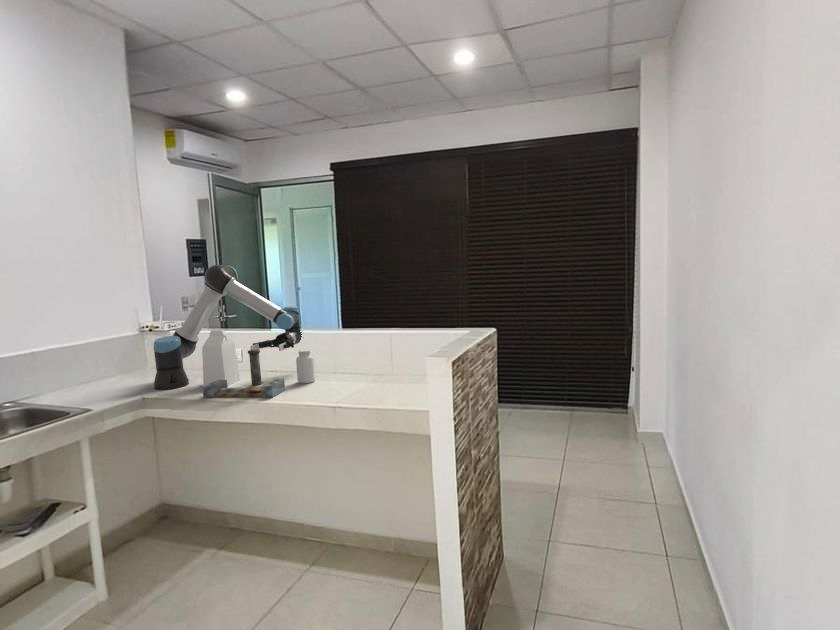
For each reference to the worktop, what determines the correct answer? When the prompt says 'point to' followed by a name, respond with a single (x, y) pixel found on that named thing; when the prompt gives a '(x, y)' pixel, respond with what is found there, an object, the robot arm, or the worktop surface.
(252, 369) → the dark grey post
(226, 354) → the milk
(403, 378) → the worktop surface
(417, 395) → the worktop surface
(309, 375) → the pill bottle
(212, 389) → the rail track
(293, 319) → the robot arm
